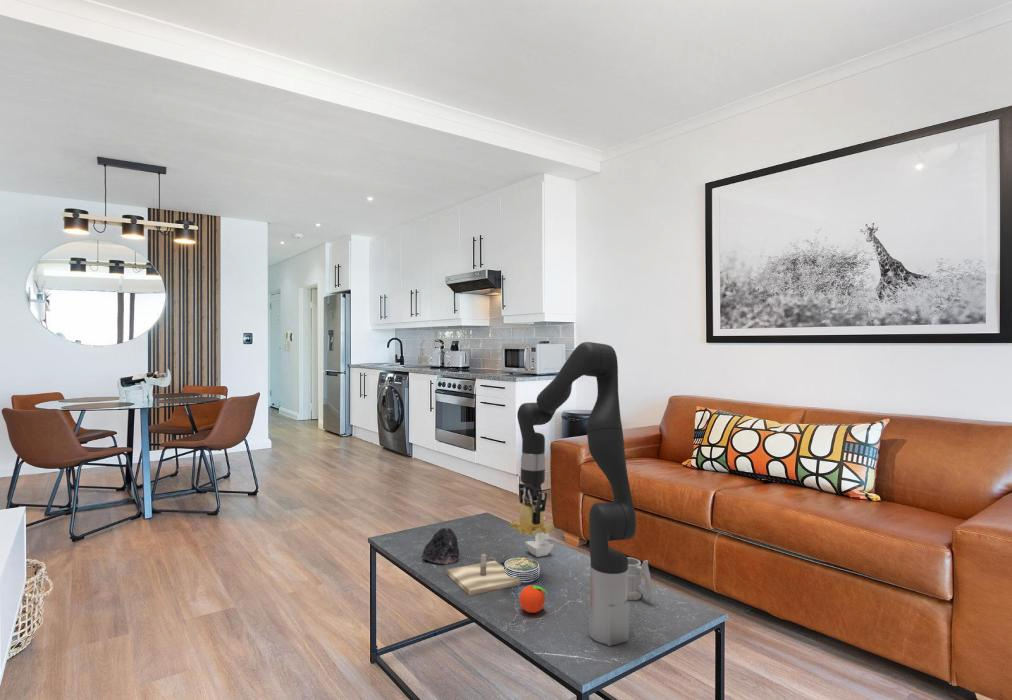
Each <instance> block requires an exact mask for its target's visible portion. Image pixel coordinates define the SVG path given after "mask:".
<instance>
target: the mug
mask: <svg viewBox="0 0 1012 700" xmlns="http://www.w3.org/2000/svg"><path fill="white" fill-rule="evenodd" d="M626 557H627V556H626ZM627 558H628V581H627V601H636V600H639V599H641V597H642V596H643V597H642V598H644V600H648V599H649V598H650V596H651V595H652V588H653V582H652V578H651V573H650V569H649V564H648V563H649V560H647V559H646V560H643V562H642V563H641V561H640V560H639V559H637V558H634V557H627ZM642 576H643V579H644V581H645V583H644V586H643V585H642Z"/></svg>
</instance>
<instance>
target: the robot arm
mask: <svg viewBox="0 0 1012 700" xmlns="http://www.w3.org/2000/svg"><path fill="white" fill-rule="evenodd" d="M618 363H619V361H618V357H617V353H616V351H615V349H614V348H613V346H611V345H609V344H605V343H601V342H600V343H599V342H598V343H597V342H593V341H584V342H581V343H580V344H578V345H577V346H576V347H575V348H574V350H573V351H572V352H571V354H570V355H569V357H568V358H567V360H566V361H565V362H564V363H563V366H562V367H561V369H560V370H559V372H558V373H557V375H556V376H555V377H554V379H552V381H551V382H550V383H548V385H546V386H545V387H544V388H543V389H542V390H541V391H540V392H539V393H538V395H537V397H536V402H525V403H522V404H521V405H520V406H519V408H518V410H517V415H516V417H517V422H518V426H519V431H520V434H521V442H522V443H521V455H520V456H521V458H520V479H519V480H520V482H521V483H518V497H519V504H520V503H526V502H530V504H531V505H532V507H533V524H534V525H537V524H540V513H541V512H543V511H544V512H545V511H546V504H547V498H548V494H547V492H543V491H542V484H544V483H546V482H545V480H546V478H545V477H546V456H545V454H546V452H545V451H546V438H545V435H544V434H543V433H541V432H537V431H535V428H534V426H543V425H546V424H547V423H549V422H550V421H551V420H552V419H553V417H554V415H555V413H556V411H557V410H558V409H559V408H560V407H561V406H562V405H563V404H564V403H565V402H567V401H568V399H569V398H570V396H571V393H572V387H573V383H574V382H575V381H576V380H578V379H579V378H581V377H582V376H586V377H591V378H592V377H594V378H596V384H597V388H596V389H597V396H596V401H595V403H594V406H593V408H592V410H591V412H590V414H589V417H588V420H587V423H586V432H587V434H586V435H587V437H586V438H587V443H588V444H587V446H588V451H589V453H590V455H591V458H592V460H593V461H595V463H596V464H597V466H598V468H600V470H601V472H602V473H603V475H604V476H605V477H606V479H607V481H608V483H609V485H610V487H611V490H612V491H611V492H612V495H613V501H605V502H594V503H593V504H592V505H591V507H590V508H589V514H588V529H589V532H588V533H589V555H590V556H589V557H590V570H589V571H590V573H589V574H590V575H589V609H588V611H589V612H588V635H589V637H590V638H591V639H592V640H593V641H596V642H597V643H600V644H605V645H606V646H609V647H611V646H614V645H615V646H616V645H618V644H623V643H625V642H629V638H630V611H631V610H630V607H631V606H630V604H631V603H630V602H629V600H627V581H628V558H627V555H625V554H624V553H623V552H621V551H619V550H615V549H613V548H611V547H609V542H611V541H625V540H631V539H633V538H634V536H635V534H636V531H637V520H636V511H635V505H634V501H633V496H632V491H631V487H630V481H629V476H628V468H627V462H626V461H627V460H626V453H625V451H626V450H625V440H624V432H623V431H624V430H623V425H622V419H621V418H622V416H621V409H620V399H619V398H620V397H619V367H618V366H619V365H618ZM534 501H536V502H534ZM536 504H537V506H535V505H536ZM541 505H542V507H541Z"/></svg>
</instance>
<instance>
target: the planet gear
mask: <svg viewBox="0 0 1012 700" xmlns="http://www.w3.org/2000/svg"><path fill="white" fill-rule="evenodd" d="M534 502H537V500H536V501H534ZM519 506H520V508H519V518H514V519H513V520H512V521H511V522H510V524H509V528H510V529H511V530H516V533H518V534H519V535H522V534H524V535H529V536H534V537H535V535H537V533H542V532H543V533H545V534H547V533H549V534H551V532H552V530H553V529H554V524H553V523H552V522H546V518H545V519H544V516H545V511H543V512H541V513H540V524H537V525H534V524H533V507H532V505H531V504H530V502H526V503H520V502H519ZM535 506H537V504H536V505H535ZM541 507H542V505H541Z"/></svg>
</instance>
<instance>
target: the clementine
mask: <svg viewBox="0 0 1012 700" xmlns="http://www.w3.org/2000/svg"><path fill="white" fill-rule="evenodd" d="M545 593H546V594H547V595H549V594H548V593H549V592H548V591H547V590H546V589H544V588H543V587H541V586H538V585H535V584H529V585H527V586H524V588H523V589H521V592H520V594H519V604H520V607H521V608H522V609H523V610H524V611H525V612H527V613H530V614H534V613H535V614H536V613H537V612H539V611H541V610H542V609H543V608H544V605H545V603H546V602H545V601H546V597H545Z"/></svg>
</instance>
